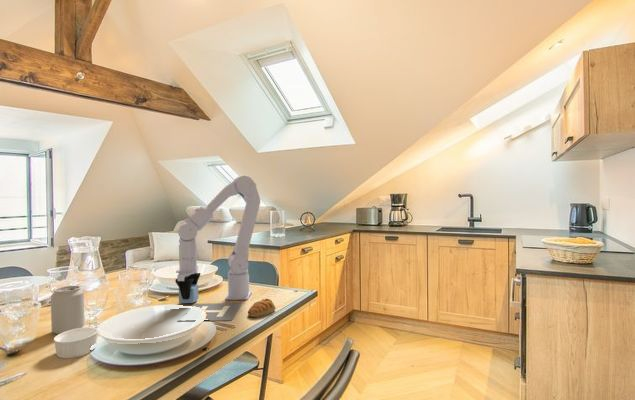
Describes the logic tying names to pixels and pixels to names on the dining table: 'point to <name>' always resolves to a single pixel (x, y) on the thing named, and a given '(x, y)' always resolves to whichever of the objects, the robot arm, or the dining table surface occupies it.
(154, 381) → the dining table surface
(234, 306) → the board
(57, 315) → the can
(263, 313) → the pastry
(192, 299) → the blue cube
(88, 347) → the ramekin
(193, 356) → the dining table surface
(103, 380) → the dining table surface
